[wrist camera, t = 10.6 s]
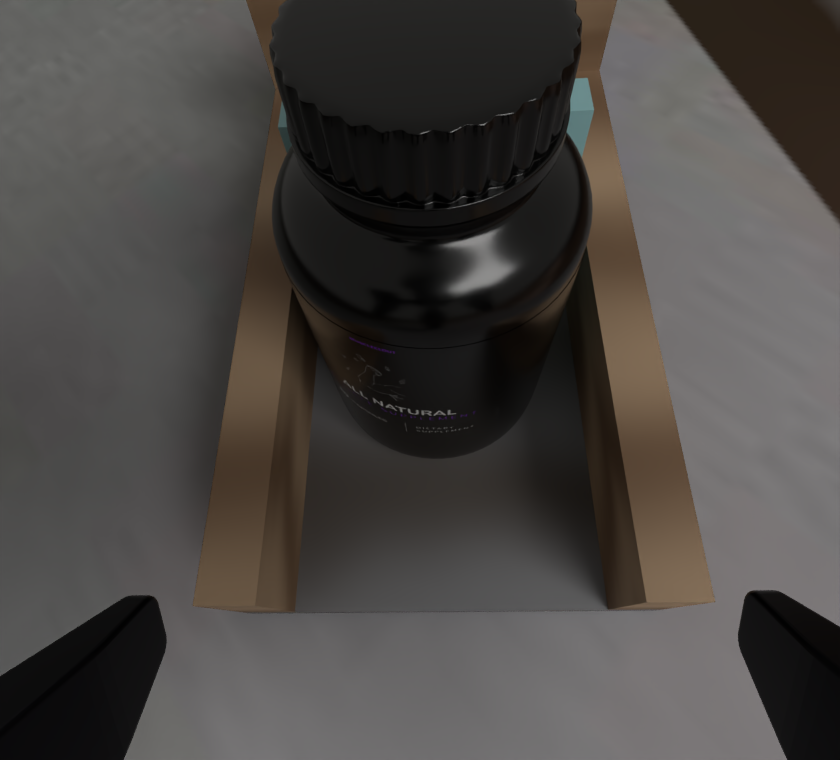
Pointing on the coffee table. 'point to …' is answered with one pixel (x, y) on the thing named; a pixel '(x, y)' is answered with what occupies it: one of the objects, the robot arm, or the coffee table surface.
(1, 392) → the coffee table surface
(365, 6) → the supplement bottle
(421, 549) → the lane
